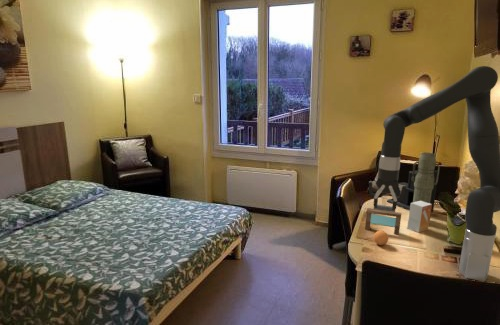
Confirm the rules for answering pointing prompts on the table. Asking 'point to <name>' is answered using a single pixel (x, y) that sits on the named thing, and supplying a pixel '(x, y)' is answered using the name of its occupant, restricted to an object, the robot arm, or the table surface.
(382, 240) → the ball
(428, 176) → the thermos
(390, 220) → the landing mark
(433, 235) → the table surface
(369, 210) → the bridge
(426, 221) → the small box
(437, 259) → the table surface
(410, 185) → the black drawer cabinet
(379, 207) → the wall
